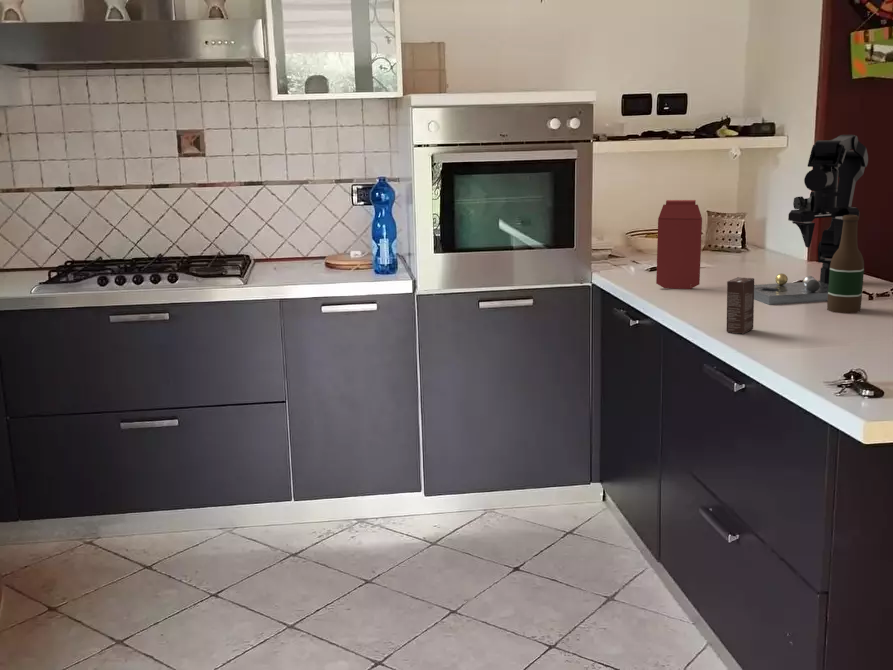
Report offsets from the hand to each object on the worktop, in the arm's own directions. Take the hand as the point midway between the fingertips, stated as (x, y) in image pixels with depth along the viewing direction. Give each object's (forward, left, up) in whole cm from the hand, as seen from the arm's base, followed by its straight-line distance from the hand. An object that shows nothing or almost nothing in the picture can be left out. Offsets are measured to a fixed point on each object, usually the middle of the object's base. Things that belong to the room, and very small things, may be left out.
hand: (821, 246), depth 245 cm
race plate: (+9, +3, -13) cm, 16 cm away
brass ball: (+10, -3, -9) cm, 13 cm away
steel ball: (+5, +3, -9) cm, 11 cm away
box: (+41, +36, -13) cm, 56 cm away
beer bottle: (+7, +23, -13) cm, 27 cm away
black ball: (+7, +8, -9) cm, 14 cm away
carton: (+32, -20, -13) cm, 40 cm away
